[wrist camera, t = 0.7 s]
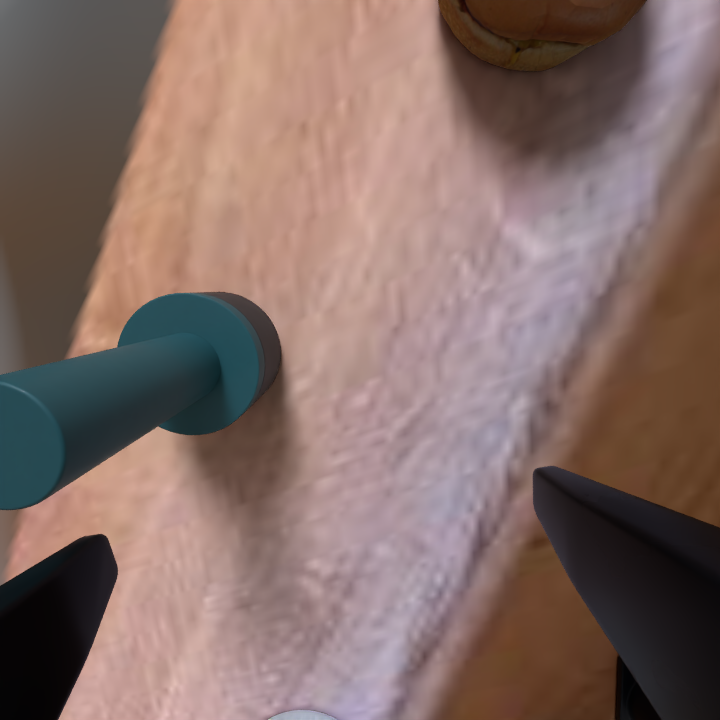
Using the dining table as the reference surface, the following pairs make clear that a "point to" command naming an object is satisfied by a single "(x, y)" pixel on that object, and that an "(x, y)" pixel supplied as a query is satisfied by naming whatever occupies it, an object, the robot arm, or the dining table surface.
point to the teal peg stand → (134, 390)
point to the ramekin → (302, 715)
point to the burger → (534, 28)
